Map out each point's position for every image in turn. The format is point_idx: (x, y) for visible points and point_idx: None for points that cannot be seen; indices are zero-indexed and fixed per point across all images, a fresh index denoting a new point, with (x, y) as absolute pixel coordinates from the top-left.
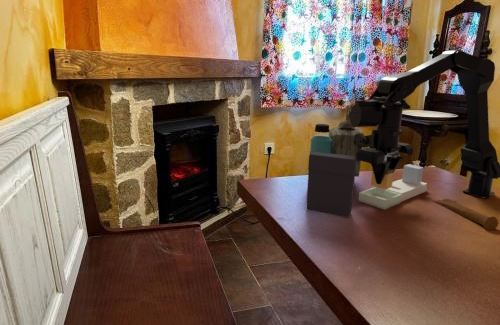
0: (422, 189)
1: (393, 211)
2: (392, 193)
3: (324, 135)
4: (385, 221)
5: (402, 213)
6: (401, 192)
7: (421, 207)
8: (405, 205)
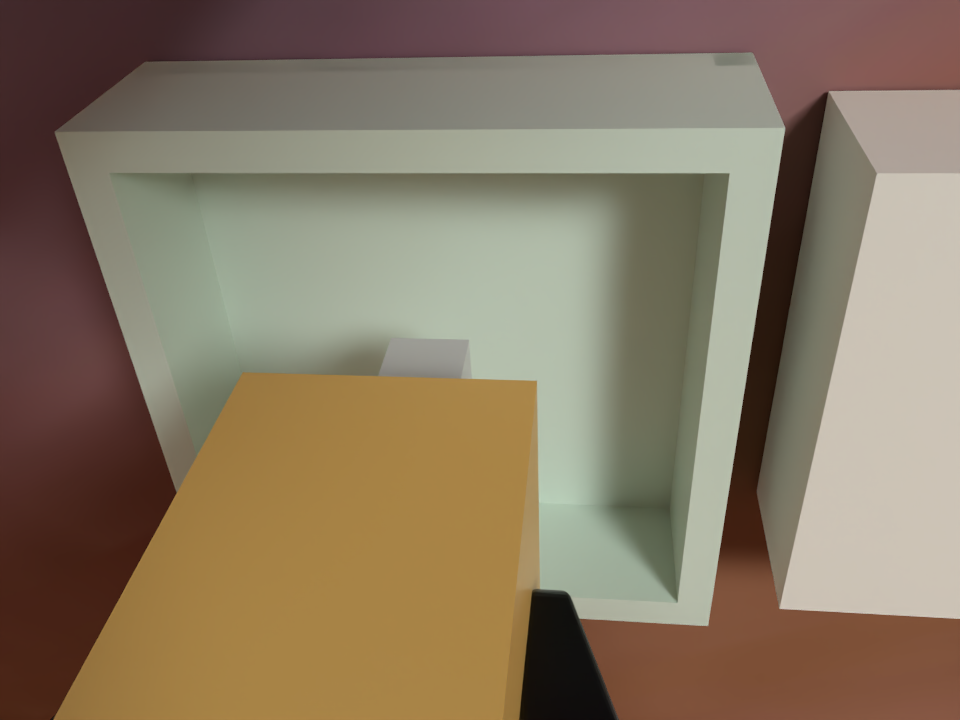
0: None
1: None
2: (685, 503)
3: None
4: (15, 612)
5: None
6: (830, 591)
7: (760, 684)
8: None
